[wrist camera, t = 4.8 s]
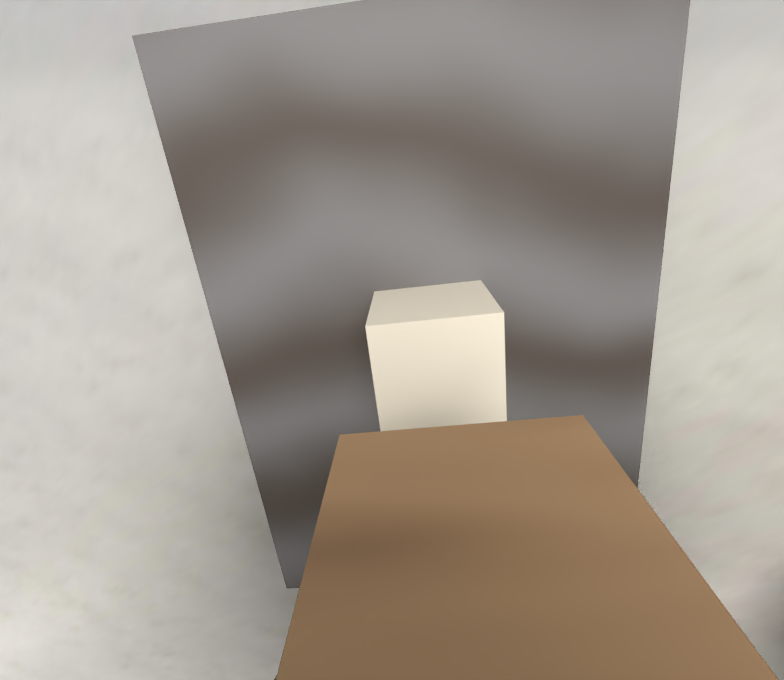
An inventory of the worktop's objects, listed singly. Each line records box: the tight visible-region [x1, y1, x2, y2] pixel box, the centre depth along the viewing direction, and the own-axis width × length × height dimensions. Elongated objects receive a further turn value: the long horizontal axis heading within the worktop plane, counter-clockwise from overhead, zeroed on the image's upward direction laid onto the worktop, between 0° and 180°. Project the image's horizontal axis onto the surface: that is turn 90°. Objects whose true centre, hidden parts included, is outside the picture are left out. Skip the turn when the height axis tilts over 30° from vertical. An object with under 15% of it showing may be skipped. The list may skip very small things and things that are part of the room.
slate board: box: [132, 0, 690, 588], centre depth 18 cm, size 24×17×1 cm
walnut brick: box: [276, 415, 778, 680], centre depth 6 cm, size 6×4×4 cm, turn 7°
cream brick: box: [365, 280, 507, 431], centre depth 15 cm, size 6×4×4 cm, turn 7°
